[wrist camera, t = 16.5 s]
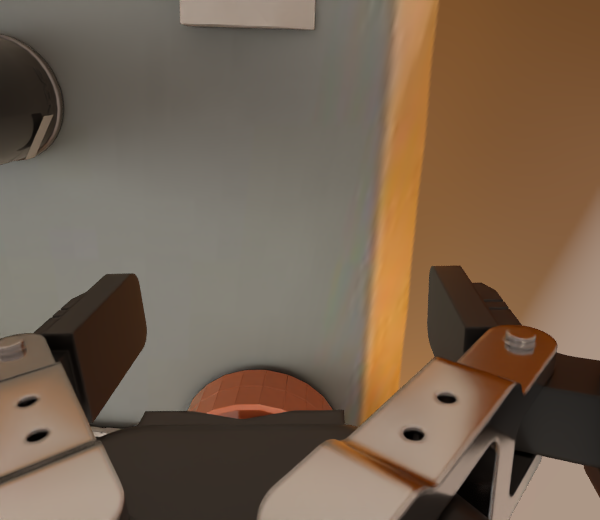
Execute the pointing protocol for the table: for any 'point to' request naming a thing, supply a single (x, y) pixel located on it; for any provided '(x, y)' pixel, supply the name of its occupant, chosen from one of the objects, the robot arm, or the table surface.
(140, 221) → the table surface
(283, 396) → the bowl
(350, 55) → the table surface
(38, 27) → the table surface
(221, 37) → the table surface
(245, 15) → the grey stone carving
